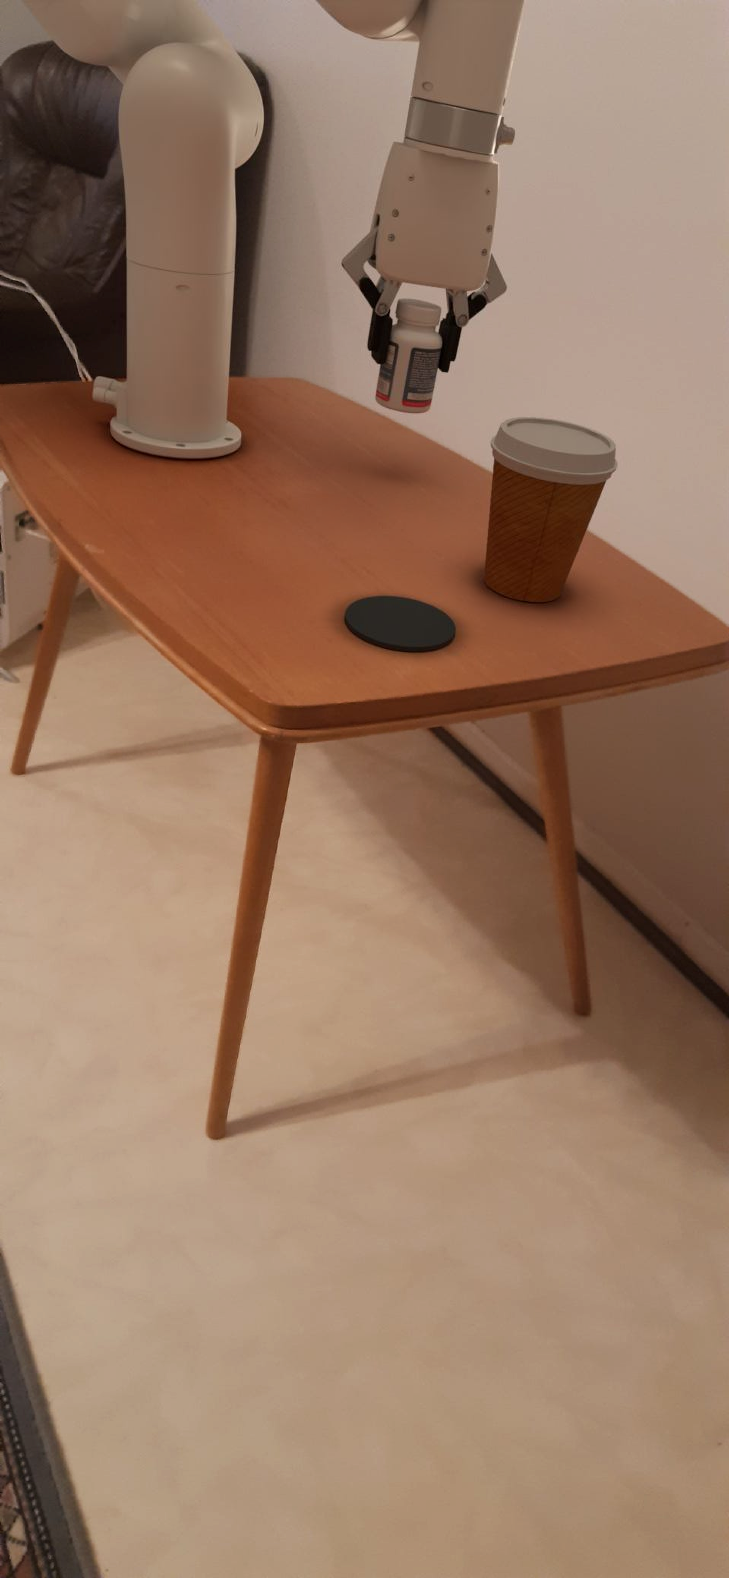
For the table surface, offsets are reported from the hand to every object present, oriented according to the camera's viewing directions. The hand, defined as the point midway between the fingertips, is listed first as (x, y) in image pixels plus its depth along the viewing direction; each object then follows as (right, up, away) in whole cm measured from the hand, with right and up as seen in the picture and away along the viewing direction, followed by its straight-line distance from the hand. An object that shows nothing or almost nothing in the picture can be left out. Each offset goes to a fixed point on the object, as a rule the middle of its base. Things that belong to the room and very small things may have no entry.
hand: (409, 362), depth 94 cm
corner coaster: (-2, -27, -20) cm, 34 cm away
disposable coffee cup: (+9, -23, -11) cm, 27 cm away
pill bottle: (-1, -3, +2) cm, 4 cm away
